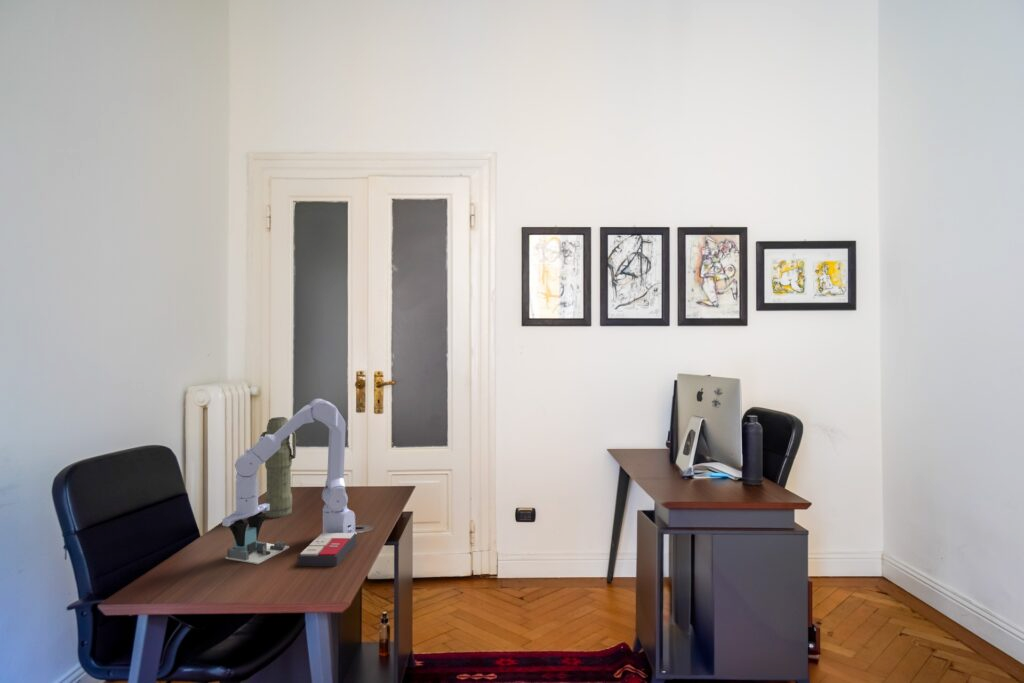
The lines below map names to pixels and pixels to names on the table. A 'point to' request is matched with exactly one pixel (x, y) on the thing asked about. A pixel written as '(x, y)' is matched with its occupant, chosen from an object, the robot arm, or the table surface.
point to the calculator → (327, 549)
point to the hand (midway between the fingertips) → (247, 542)
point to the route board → (264, 553)
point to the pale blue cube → (248, 540)
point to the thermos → (279, 473)
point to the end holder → (241, 553)
